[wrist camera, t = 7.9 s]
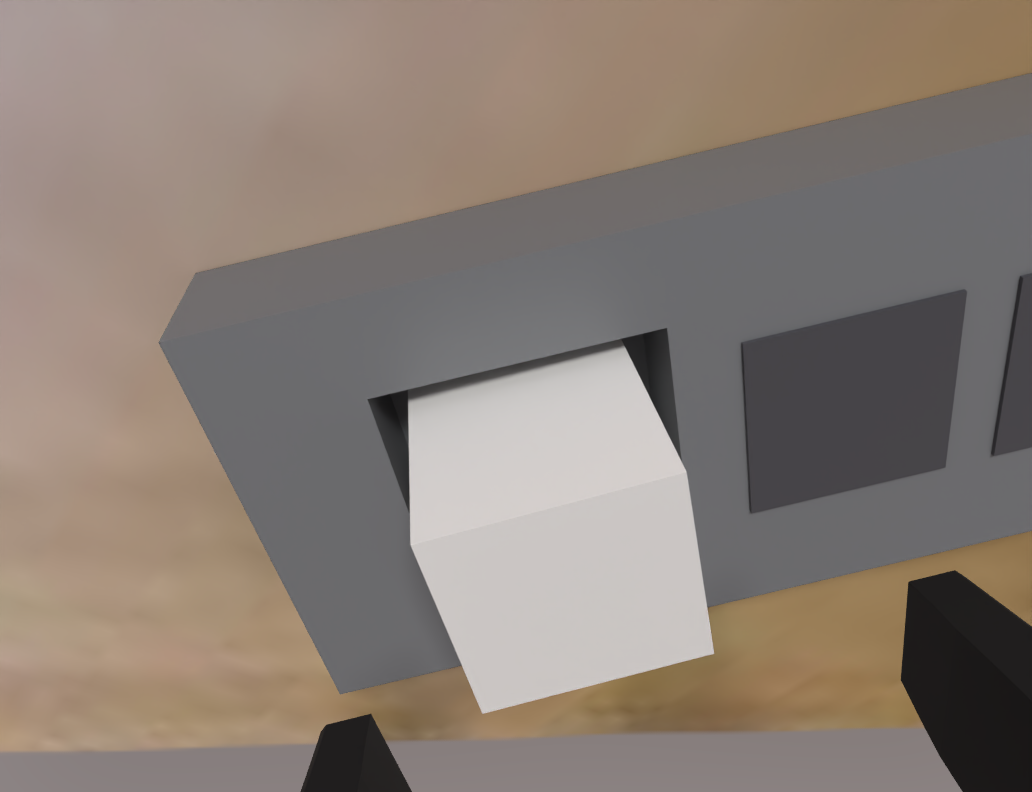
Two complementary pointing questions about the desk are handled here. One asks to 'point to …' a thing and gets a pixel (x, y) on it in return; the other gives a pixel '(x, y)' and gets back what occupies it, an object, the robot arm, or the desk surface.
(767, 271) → the power strip
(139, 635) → the desk surface
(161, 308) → the desk surface
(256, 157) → the desk surface
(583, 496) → the plug
